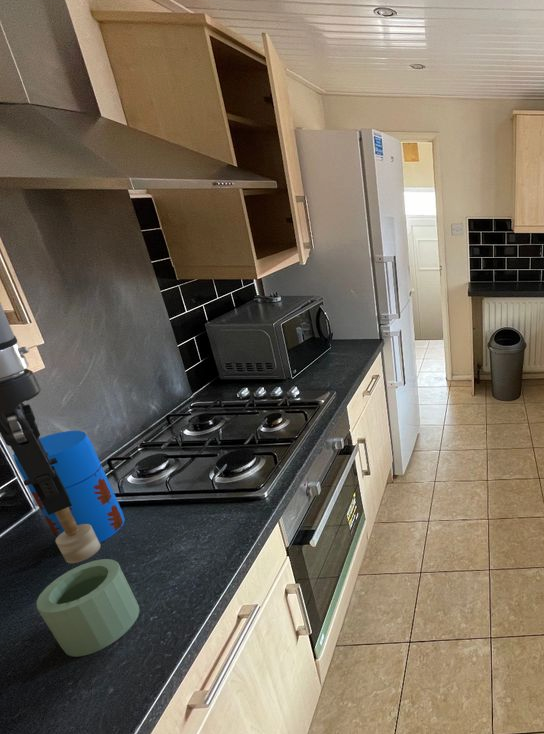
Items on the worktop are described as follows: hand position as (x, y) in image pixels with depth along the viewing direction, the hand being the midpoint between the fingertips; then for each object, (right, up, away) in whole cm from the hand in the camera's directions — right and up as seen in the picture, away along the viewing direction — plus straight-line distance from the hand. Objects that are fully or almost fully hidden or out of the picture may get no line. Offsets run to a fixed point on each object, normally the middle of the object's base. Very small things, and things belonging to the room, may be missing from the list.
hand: (59, 505), depth 68 cm
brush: (0, -10, +4) cm, 10 cm away
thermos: (-20, -17, +27) cm, 38 cm away
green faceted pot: (0, -25, +7) cm, 26 cm away
